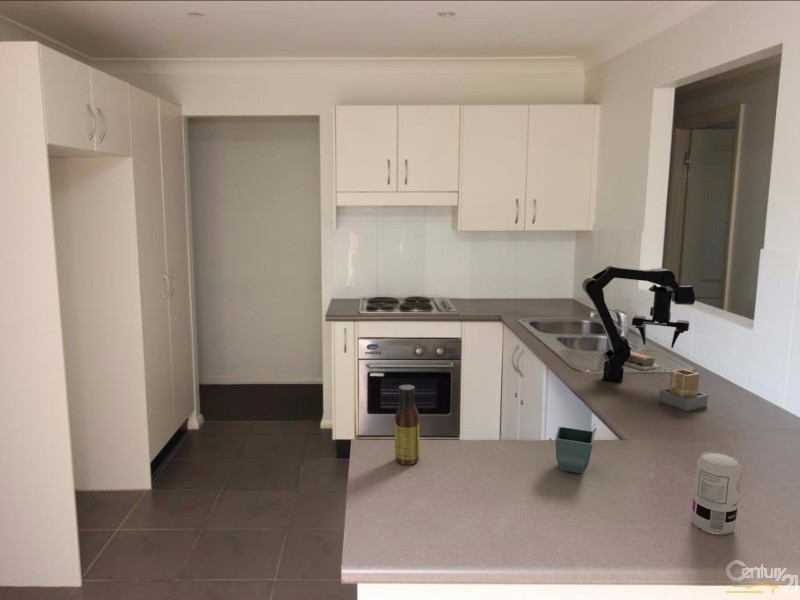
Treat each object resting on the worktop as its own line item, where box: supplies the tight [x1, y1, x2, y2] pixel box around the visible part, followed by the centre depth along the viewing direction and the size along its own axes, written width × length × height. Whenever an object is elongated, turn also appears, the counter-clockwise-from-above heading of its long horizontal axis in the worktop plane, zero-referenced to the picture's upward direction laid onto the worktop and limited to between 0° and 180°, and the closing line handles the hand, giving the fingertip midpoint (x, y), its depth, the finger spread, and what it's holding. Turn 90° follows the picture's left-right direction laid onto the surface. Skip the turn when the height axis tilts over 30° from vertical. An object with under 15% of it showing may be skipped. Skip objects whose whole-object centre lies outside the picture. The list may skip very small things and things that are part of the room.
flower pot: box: [554, 426, 595, 474], centre depth 157 cm, size 9×9×9 cm
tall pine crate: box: [669, 368, 700, 399], centre depth 205 cm, size 6×6×10 cm
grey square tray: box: [658, 387, 709, 412], centre depth 206 cm, size 10×10×4 cm
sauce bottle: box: [394, 384, 421, 466], centre depth 159 cm, size 6×6×20 cm
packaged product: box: [623, 350, 661, 371], centre depth 253 cm, size 18×5×10 cm
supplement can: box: [691, 451, 743, 534], centre depth 130 cm, size 8×8×15 cm
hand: (658, 346), depth 228 cm, fingers open, 9 cm apart
